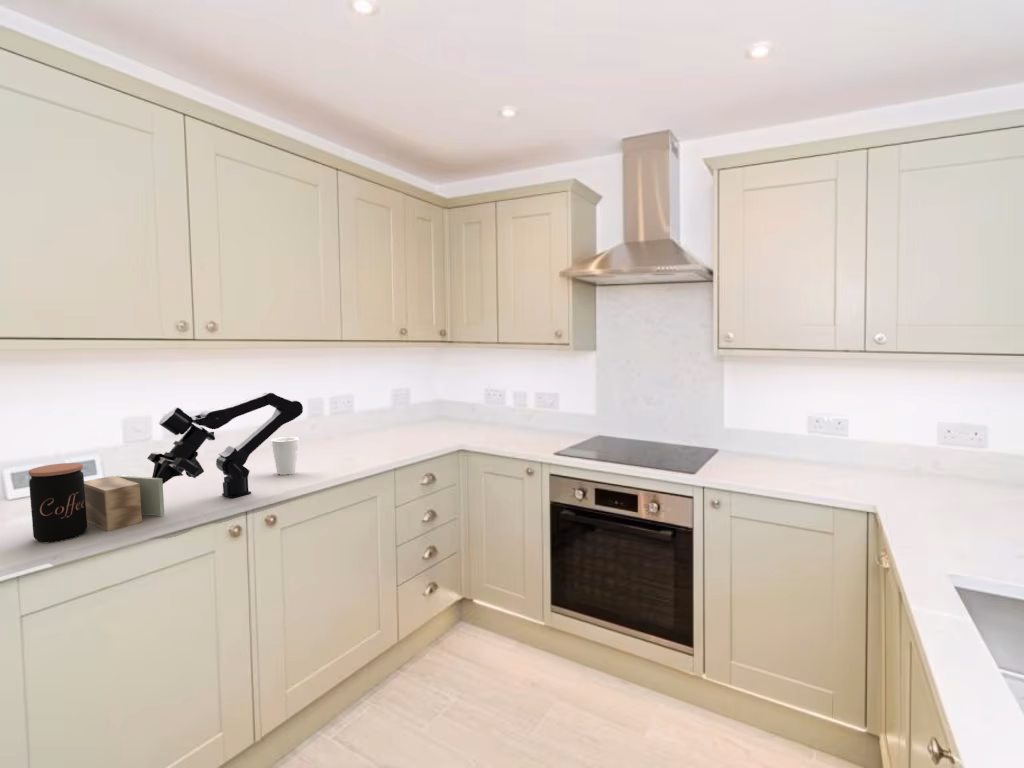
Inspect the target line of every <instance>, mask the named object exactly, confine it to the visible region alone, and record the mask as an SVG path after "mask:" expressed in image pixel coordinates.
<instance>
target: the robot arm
mask: <svg viewBox="0 0 1024 768" xmlns="http://www.w3.org/2000/svg"><path fill="white" fill-rule="evenodd" d="M267 406H271V407H273V408H275V410H274V412H273V414H272V415H271V417H269V418H268V419H267V420H266V421H265V422H264V423H262V425H260V426H259V427H258V428H257V429H256V430H255V431H254V432H252V433H251V434H250V435H249V436H248V437H246V438H245V440H244V441H242V442H241V443H240V444H239V445H237V446H235V447H233V446H231V445H228V446H227V447H226V448H225V449H224V450H223V451H222V452H219V453H218V456H217V458H216V461H215V462H216V463H215V466H216V468H217V469H218V470H219V471H221V472H222V473H223V475H224V477H223V481H222V493H221V495H222V496H225V497H228V498H231V499H234V498H238V497H241V496H245V495H250V494H252V491H250V490H249V475H250V469H248V468H247V467H245V466H244V465H245V464H247V463H246V462H247V461H248V458H249V456H250V455H251V454H252V453H253V452H254V451H256V450H257V449H258V447H260V446H261V445H262V444H263V443H264V442H265V441H266V440H268V439H269V438H270V437H271V436H272V435H273V434H274V433H275V432H277V431H278V430H279V429H280V428H281V427H282V426H283V425H285V424H287V423H289V422H292V421H294V420H295V419H297V418H298V417H300V416H301V415H302V414H303V412H304V410H303V409H304V407H303V404H302V403H301V402H300V401H298V400H296V399H287V398H284V397H281V396H279V395H277V394H276V393H274V392H269V391H265V392H263V393H261V394H258V395H256V396H253V397H250V398H248V399H247V398H246V399H245V400H242V401H240V402H236V403H233V404H231V405H228V406H227V405H226V406H220V407H219V406H218V407H214V408H208V409H205V410H202V411H201V412H200V413H199V414H196V415H191V416H190V415H189V414H187V413H186V412H184V410H182V409H181V408H180V407H178V406H175V407H174V408H173V409H172V410H170V411H169V412H167V413H166V414H164V415H163V416H162V418H160V420H159V422H158V424H159V426H161V427H163V428H164V429H166V430H167V431H169V432H170V433H172V434H173V435H175V436H179V435H183V436H181V438H180V439H179V440H178V441H177V440H175V441H174V442H173V445H174V446H173V447H172V448H171V450H170V451H165V452H164V453H161V452H156V451H155V452H151V453H150V454H149V455H148V457H147V460H148V461H150V462H152V463H153V464H154V467H153V470H152V476H151V478H162V481H163V485H164V484H165V483H166V482H168V481H170V480H171V479H172V478H175V477H180V476H181V477H182V476H184V474H183V473H184V471H185V475H186V476H187V477H188V478H193V479H196V478H197V477H199V476H200V475H202V474H203V473H204V472H205V470H204V468H203V466H202V465H201V463H200V461H198V459H197V457H198V455H199V452H198V450H199V449H200V447H201V446H202V445H203V444H204V442H205V441H206V440H208V441H215V440H216V436H215V431H209V430H207V429H205V428H208V429H210V430H218V429H219V428H222V427H223V426H225V425H227V424H228V423H230V422H231V421H232V420H233V419H235V418H238V417H241V416H243V415H246V414H248V413H250V412H251V413H252V412H253V411H256V410H259V409H262V408H264V407H267ZM197 425H198V426H200V427H198V426H197Z"/></svg>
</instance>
